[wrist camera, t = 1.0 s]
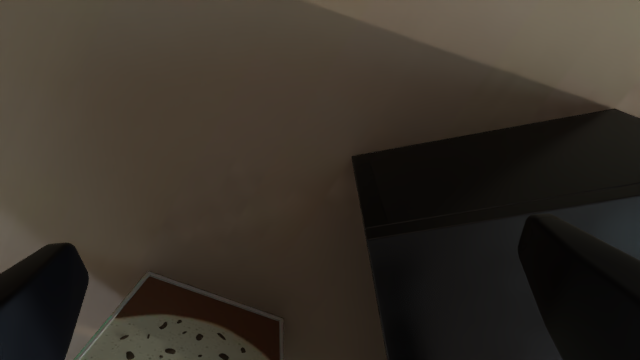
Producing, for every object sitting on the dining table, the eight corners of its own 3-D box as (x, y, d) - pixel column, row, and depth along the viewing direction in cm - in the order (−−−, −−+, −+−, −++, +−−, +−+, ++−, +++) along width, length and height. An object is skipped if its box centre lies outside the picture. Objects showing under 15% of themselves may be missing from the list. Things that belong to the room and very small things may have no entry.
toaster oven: (597, 371, 29) (694, 504, 22) (394, 397, 31) (418, 532, 23) (630, 105, 21) (804, 168, 14) (351, 155, 22) (366, 239, 15)
